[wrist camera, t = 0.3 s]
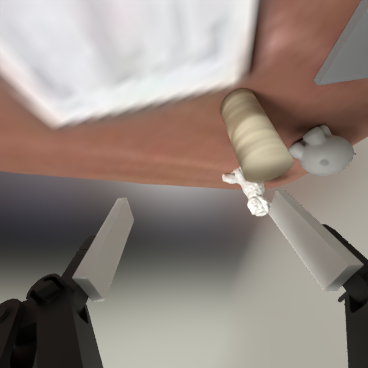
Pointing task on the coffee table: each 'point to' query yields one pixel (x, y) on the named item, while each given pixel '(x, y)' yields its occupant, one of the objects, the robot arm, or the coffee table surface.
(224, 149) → the coffee table surface
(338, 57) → the board
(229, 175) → the sitting furry creature
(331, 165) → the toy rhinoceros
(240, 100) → the birch tool handle
